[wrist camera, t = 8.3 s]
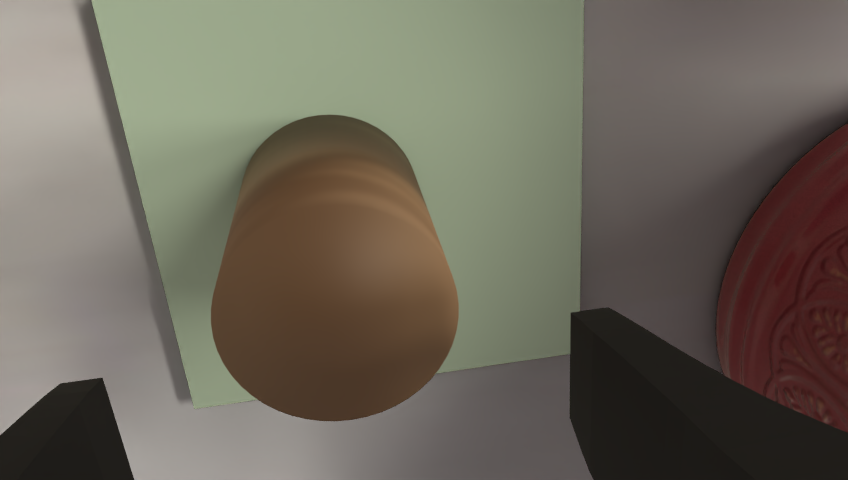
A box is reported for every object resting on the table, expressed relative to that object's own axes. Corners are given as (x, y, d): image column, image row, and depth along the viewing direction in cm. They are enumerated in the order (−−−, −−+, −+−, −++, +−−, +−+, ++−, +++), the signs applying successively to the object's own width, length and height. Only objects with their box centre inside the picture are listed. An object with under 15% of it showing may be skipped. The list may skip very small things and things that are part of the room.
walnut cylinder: (409, 105, 18) (450, 189, 13) (424, 267, 20) (465, 402, 15) (225, 125, 18) (186, 222, 12) (257, 290, 20) (235, 437, 14)
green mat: (577, -53, 18) (584, -51, 17) (573, 343, 22) (579, 352, 22) (96, -8, 17) (90, -5, 16) (196, 398, 21) (194, 409, 21)
